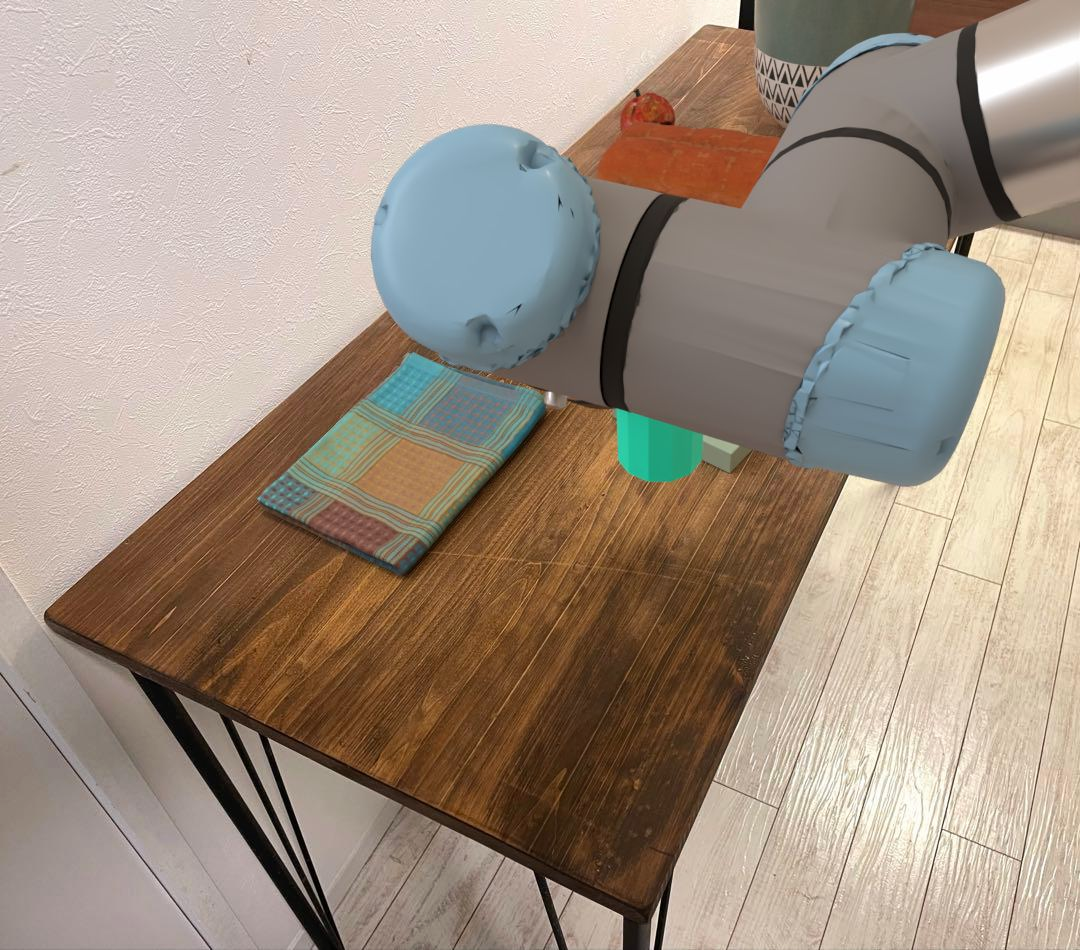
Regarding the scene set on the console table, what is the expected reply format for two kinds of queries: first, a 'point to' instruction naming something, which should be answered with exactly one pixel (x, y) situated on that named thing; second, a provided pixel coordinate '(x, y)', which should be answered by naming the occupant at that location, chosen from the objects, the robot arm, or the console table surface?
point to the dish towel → (405, 461)
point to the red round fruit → (647, 110)
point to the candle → (656, 448)
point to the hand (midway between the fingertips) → (673, 381)
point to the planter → (813, 42)
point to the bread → (688, 161)
